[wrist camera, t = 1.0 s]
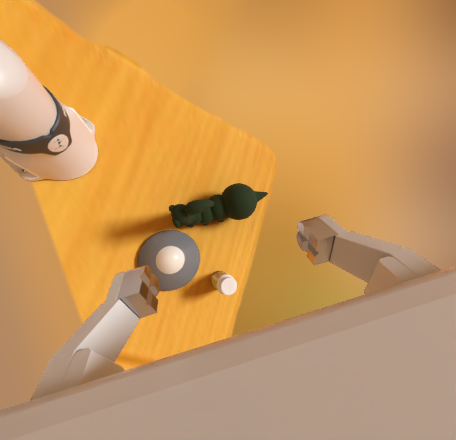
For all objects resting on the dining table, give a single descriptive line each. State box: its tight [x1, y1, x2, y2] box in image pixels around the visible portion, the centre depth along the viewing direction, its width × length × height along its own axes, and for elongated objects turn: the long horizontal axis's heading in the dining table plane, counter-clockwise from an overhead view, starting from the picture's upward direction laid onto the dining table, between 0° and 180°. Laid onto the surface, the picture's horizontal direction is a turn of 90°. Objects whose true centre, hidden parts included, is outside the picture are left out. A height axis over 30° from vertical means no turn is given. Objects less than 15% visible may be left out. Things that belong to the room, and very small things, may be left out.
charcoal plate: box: [138, 230, 200, 291], centre depth 46 cm, size 15×15×1 cm
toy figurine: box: [169, 183, 268, 228], centre depth 44 cm, size 9×19×25 cm
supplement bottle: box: [211, 271, 237, 295], centre depth 46 cm, size 5×5×8 cm
